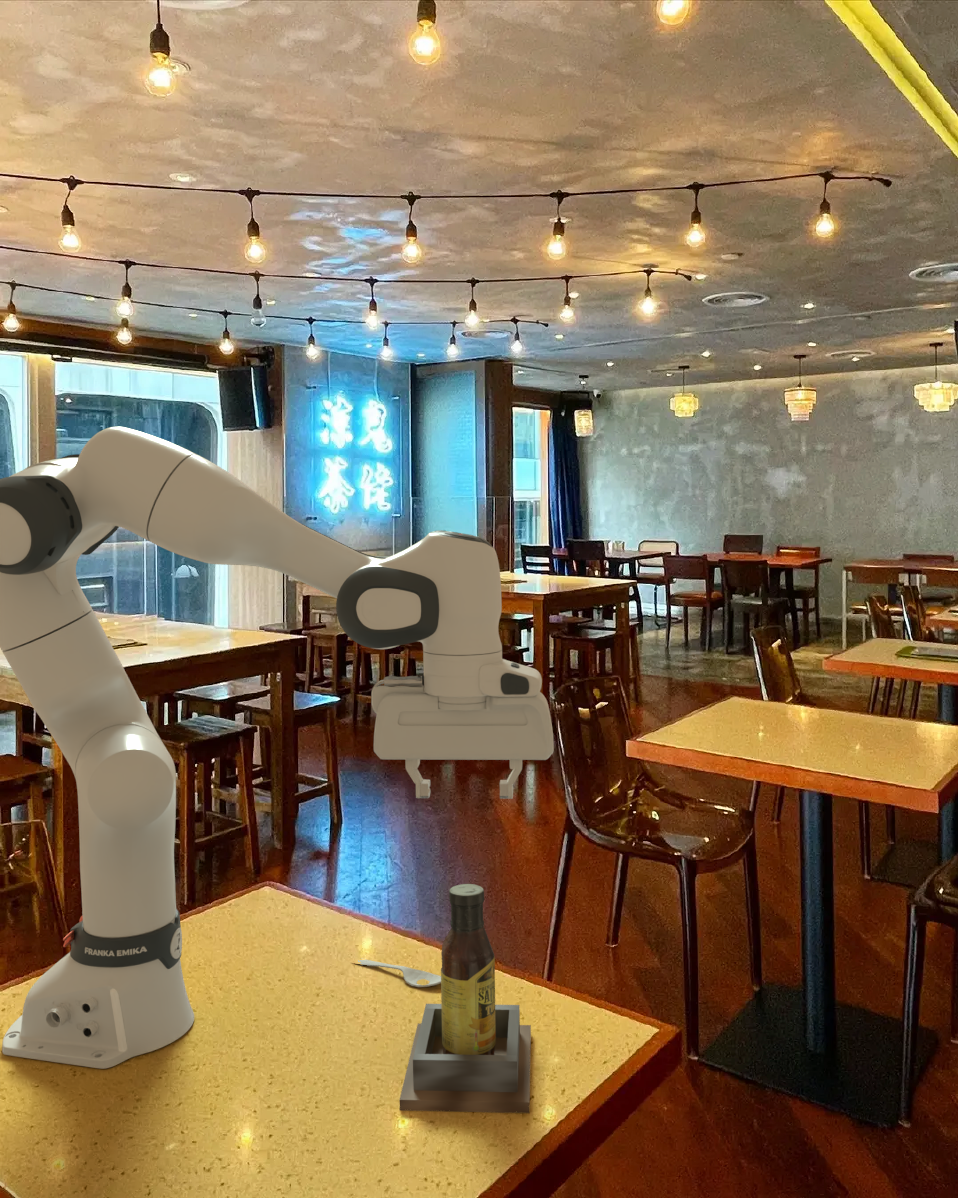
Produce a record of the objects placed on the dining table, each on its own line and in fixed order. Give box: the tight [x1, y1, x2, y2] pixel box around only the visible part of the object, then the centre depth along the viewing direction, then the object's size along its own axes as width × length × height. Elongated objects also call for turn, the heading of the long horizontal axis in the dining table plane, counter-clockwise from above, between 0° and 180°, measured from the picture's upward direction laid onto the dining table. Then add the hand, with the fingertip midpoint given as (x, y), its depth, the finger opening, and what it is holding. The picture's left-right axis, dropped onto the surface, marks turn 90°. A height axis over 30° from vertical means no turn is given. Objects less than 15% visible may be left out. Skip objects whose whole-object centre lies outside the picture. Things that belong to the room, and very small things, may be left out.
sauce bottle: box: [440, 883, 496, 1055], centre depth 113 cm, size 6×6×20 cm
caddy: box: [398, 1003, 532, 1114], centre depth 113 cm, size 14×16×5 cm
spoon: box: [358, 959, 441, 988], centre depth 138 cm, size 4×21×2 cm, turn 56°
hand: (464, 797), depth 110 cm, fingers open, 8 cm apart
